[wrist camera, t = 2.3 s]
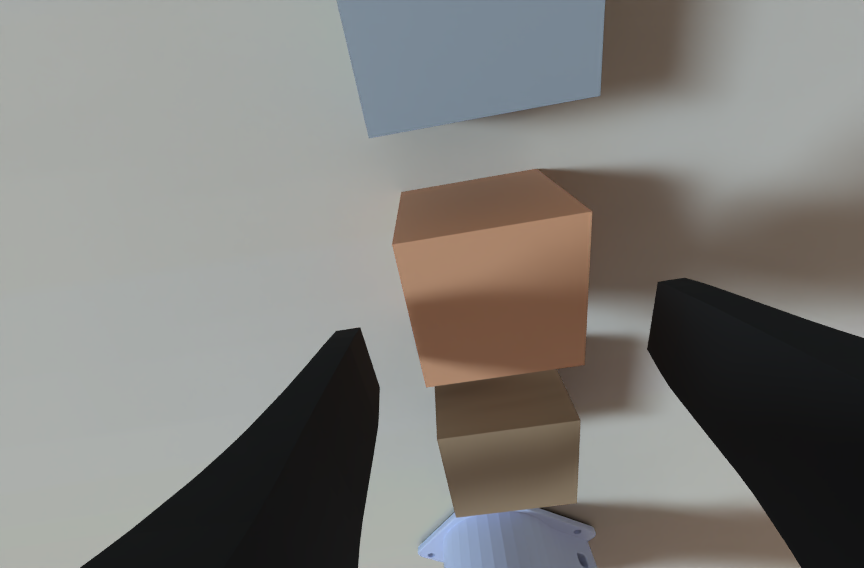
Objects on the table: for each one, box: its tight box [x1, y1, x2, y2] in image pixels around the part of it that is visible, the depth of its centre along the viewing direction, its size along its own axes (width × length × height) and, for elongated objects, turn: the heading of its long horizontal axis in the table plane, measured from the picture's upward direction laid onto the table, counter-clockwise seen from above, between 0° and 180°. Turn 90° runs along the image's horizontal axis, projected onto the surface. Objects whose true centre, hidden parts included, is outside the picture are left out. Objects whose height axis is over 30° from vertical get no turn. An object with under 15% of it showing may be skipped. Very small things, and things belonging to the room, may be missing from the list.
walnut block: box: [435, 369, 580, 518], centre depth 16 cm, size 5×5×5 cm
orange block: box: [392, 169, 592, 387], centre depth 12 cm, size 5×5×5 cm
